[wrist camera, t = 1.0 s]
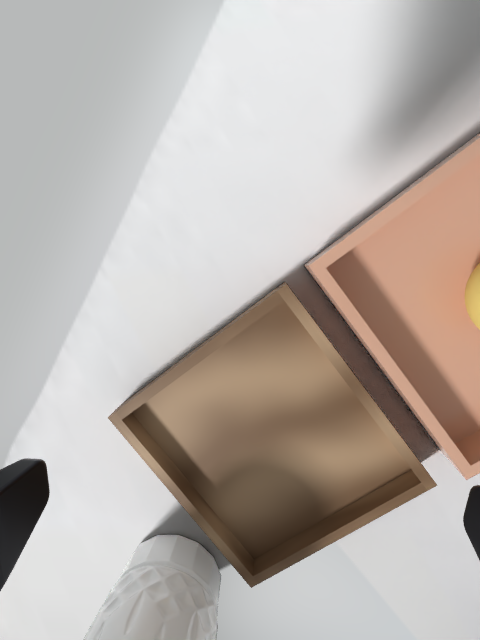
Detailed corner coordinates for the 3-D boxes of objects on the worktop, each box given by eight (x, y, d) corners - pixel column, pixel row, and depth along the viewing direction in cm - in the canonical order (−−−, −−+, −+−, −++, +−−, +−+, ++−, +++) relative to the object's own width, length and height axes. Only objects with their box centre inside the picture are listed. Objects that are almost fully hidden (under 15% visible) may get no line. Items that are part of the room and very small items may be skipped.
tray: (421, 463, 20) (437, 485, 18) (252, 559, 23) (251, 587, 21) (285, 281, 19) (286, 283, 17) (122, 403, 21) (107, 417, 19)
